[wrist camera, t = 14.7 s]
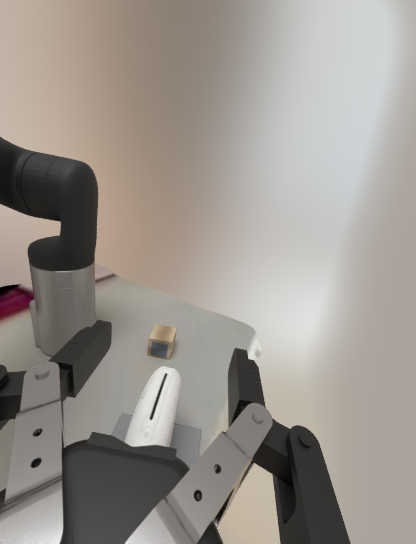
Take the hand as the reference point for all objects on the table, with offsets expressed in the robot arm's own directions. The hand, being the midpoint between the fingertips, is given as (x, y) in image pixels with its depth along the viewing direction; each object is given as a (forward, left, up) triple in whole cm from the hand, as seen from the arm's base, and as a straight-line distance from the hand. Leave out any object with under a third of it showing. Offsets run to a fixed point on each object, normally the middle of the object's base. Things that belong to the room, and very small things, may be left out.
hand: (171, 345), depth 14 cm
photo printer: (-1, +5, -24) cm, 24 cm away
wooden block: (-5, +25, -24) cm, 35 cm away
